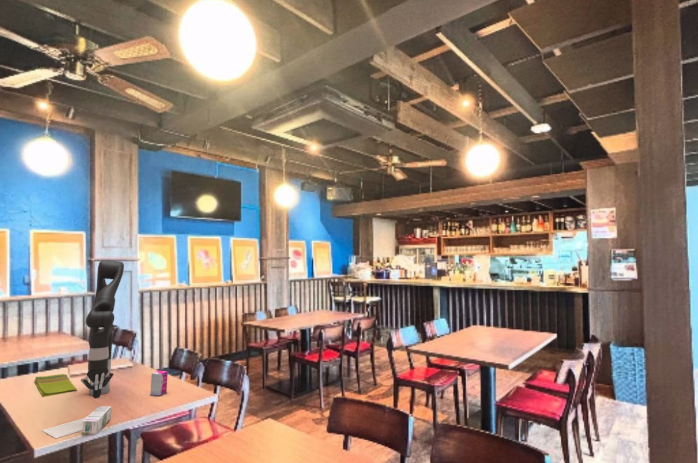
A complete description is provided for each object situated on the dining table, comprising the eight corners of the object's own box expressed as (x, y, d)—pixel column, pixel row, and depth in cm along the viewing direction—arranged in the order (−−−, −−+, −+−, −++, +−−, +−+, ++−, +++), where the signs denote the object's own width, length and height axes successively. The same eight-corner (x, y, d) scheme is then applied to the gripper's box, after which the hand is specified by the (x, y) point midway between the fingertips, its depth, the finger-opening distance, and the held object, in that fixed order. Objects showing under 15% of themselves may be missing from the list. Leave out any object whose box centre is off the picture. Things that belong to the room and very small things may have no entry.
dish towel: (66, 377, 243) (66, 371, 243) (77, 391, 217) (78, 385, 217) (33, 382, 232) (34, 376, 233) (41, 398, 206) (42, 391, 207)
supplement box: (159, 396, 209) (160, 373, 209) (149, 395, 210) (150, 373, 211) (167, 393, 214) (168, 370, 215) (157, 392, 215) (158, 370, 216)
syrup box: (97, 406, 177) (81, 420, 163) (112, 406, 178) (97, 420, 164) (96, 419, 177) (80, 434, 162) (111, 419, 178) (96, 434, 163)
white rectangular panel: (41, 431, 166) (41, 430, 166) (89, 417, 181) (89, 416, 181) (55, 438, 159) (55, 438, 159) (104, 423, 174) (104, 422, 174)
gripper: (109, 353, 186) (108, 392, 184) (77, 359, 174) (75, 400, 173) (118, 355, 181) (116, 395, 180) (86, 361, 170) (84, 404, 169)
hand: (96, 397), depth 177 cm, fingers closed
